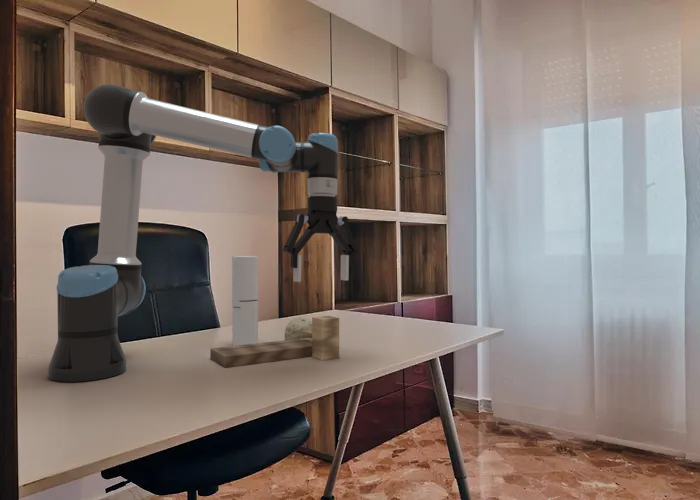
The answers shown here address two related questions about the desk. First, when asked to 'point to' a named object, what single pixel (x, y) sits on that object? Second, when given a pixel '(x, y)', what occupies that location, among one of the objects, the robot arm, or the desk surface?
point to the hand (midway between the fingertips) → (321, 281)
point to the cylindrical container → (244, 300)
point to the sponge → (297, 328)
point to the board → (261, 352)
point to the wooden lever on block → (324, 337)
